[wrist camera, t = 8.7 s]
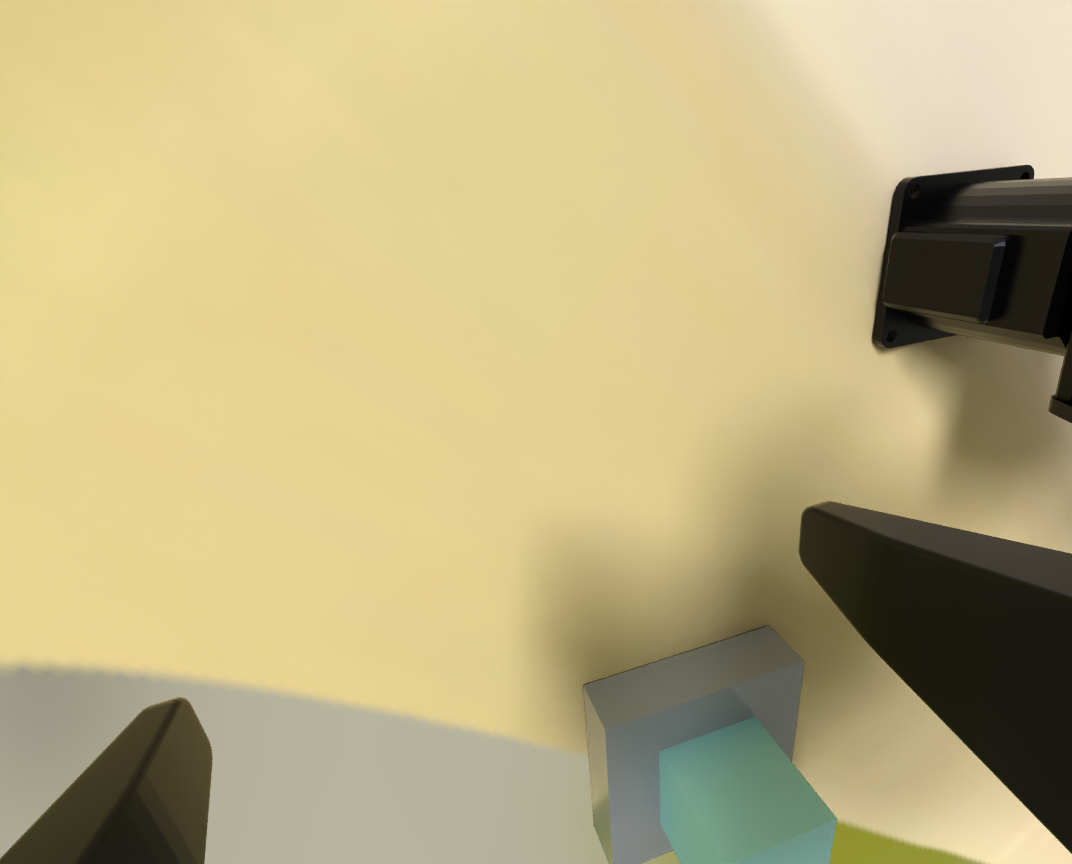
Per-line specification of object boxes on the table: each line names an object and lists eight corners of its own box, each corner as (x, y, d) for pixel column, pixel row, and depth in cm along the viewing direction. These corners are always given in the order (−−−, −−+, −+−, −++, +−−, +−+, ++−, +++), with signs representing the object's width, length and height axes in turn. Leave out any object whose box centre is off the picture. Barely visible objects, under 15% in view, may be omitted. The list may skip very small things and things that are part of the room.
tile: (768, 625, 28) (804, 660, 26) (756, 762, 32) (786, 803, 30) (583, 685, 26) (604, 730, 24) (593, 825, 30) (613, 875, 28)
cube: (755, 716, 26) (837, 818, 22) (749, 787, 28) (823, 895, 24) (659, 751, 25) (725, 867, 21) (660, 823, 27) (720, 943, 23)
